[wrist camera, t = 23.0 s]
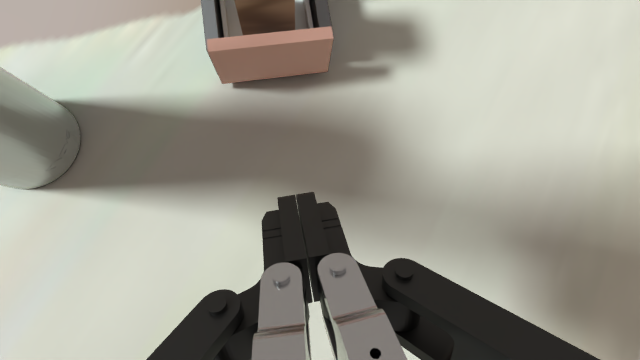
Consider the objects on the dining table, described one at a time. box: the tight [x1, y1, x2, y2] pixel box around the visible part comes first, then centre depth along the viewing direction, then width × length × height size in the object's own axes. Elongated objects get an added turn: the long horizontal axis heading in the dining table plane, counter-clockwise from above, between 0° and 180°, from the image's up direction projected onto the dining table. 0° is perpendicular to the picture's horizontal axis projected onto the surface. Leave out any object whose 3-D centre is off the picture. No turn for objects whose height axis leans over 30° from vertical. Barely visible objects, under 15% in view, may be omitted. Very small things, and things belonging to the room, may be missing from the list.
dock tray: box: [207, 0, 334, 84], centre depth 35 cm, size 10×11×6 cm
